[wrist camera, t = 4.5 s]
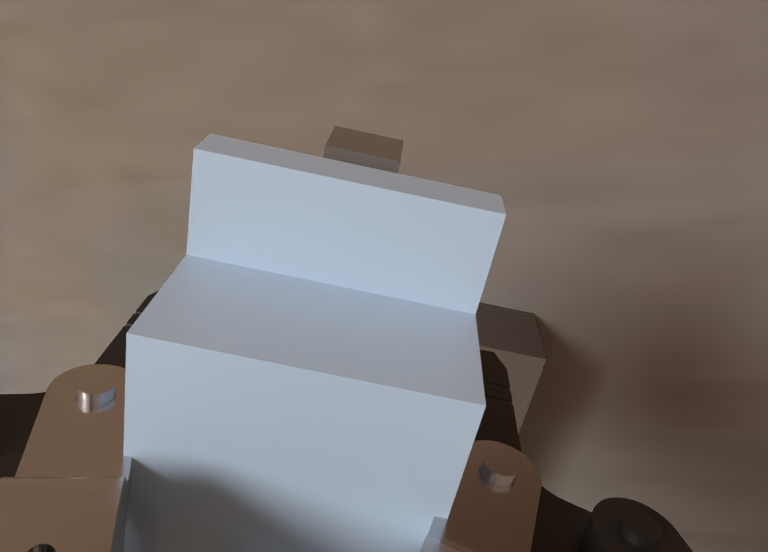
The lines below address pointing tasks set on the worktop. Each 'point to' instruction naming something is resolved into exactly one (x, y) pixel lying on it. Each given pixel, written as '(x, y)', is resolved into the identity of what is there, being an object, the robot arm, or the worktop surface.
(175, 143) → the worktop surface
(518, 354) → the block with stepped hole
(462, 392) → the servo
